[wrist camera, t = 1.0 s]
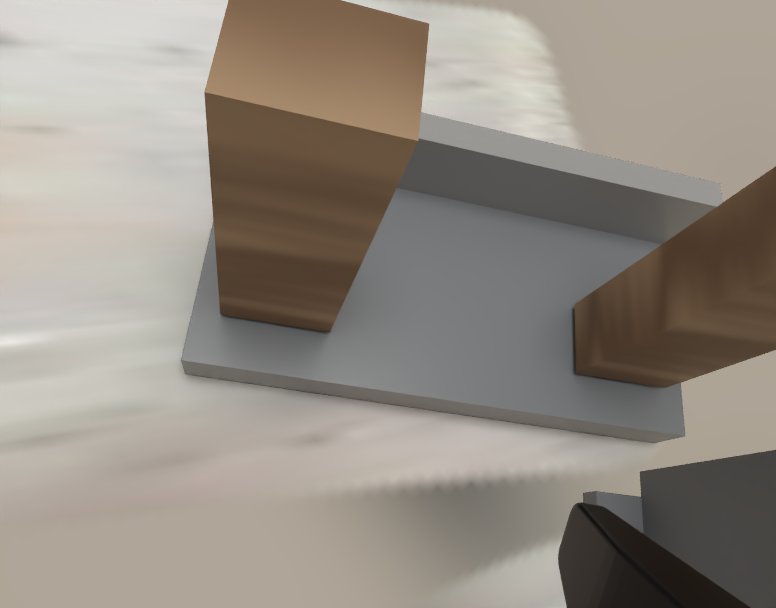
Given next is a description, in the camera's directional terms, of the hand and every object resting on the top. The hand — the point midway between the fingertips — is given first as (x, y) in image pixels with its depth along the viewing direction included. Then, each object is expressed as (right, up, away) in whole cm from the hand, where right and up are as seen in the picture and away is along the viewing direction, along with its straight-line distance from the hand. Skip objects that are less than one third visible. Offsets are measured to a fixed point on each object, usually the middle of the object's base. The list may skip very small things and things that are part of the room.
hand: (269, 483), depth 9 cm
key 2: (-2, +3, +14) cm, 15 cm away
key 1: (+11, +1, +16) cm, 20 cm away
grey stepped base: (+4, +3, +18) cm, 19 cm away
